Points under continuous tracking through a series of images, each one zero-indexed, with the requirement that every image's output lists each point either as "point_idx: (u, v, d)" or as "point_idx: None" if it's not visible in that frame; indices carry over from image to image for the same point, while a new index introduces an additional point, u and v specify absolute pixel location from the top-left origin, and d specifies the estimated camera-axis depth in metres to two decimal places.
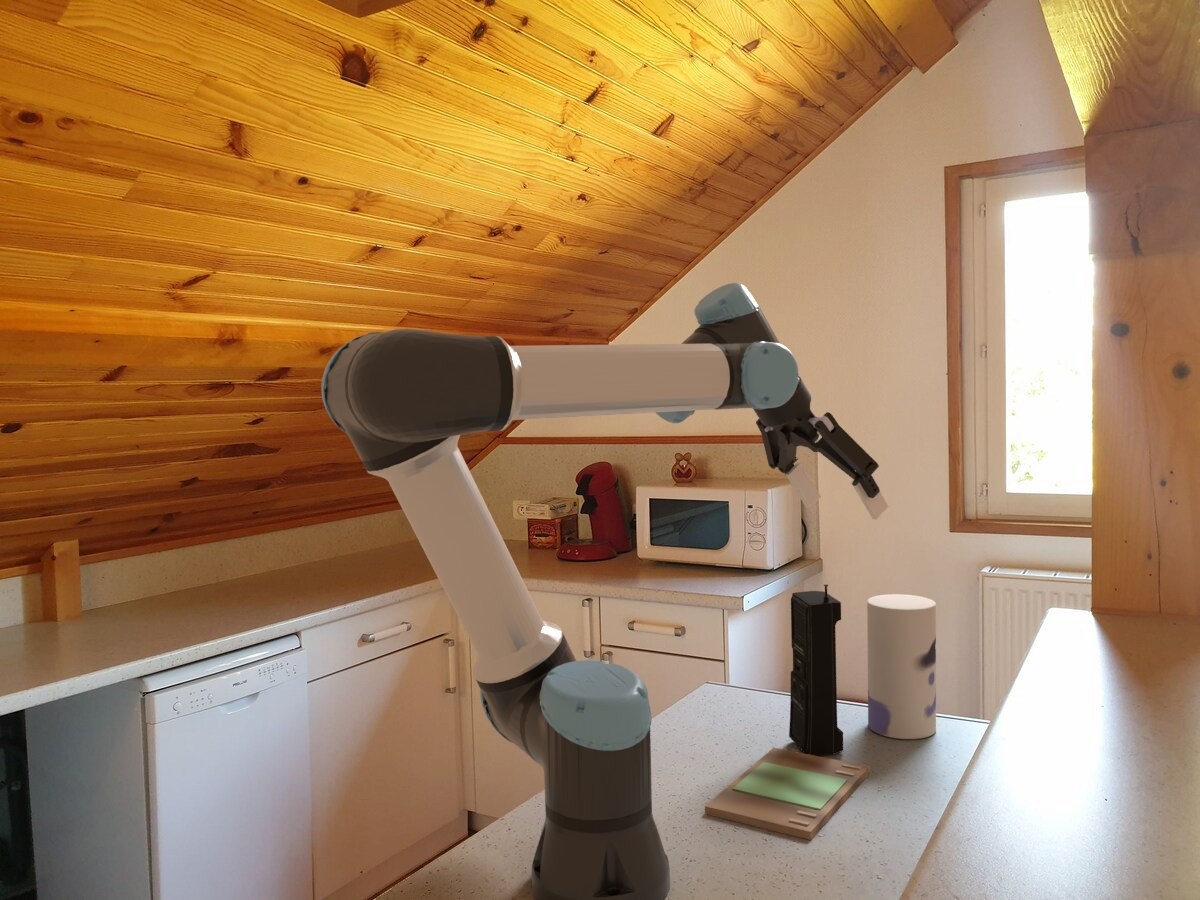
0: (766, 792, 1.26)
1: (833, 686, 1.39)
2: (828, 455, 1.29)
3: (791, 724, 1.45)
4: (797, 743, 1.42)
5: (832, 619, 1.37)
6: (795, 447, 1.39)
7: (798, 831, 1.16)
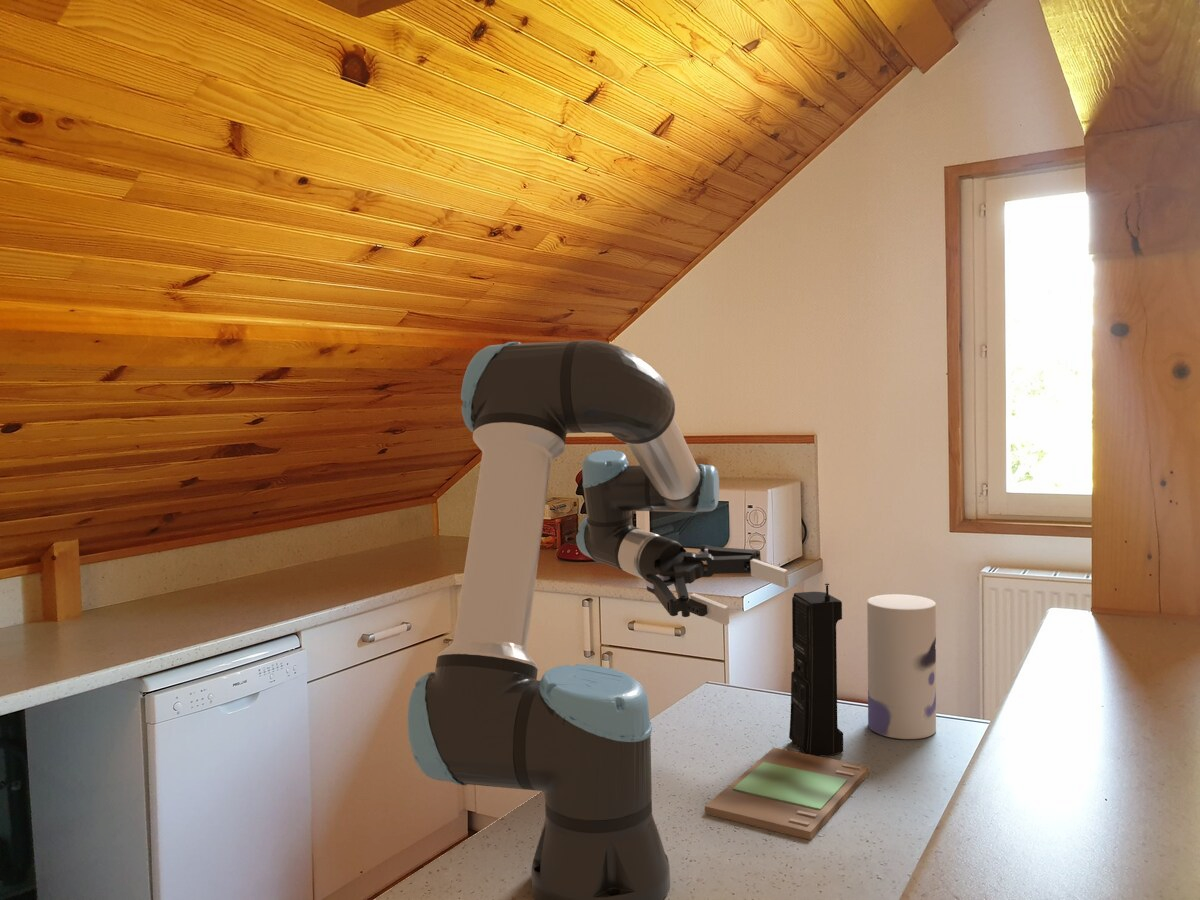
0: (766, 792, 1.26)
1: (833, 686, 1.39)
2: (722, 557, 1.51)
3: (791, 725, 1.45)
4: (797, 744, 1.42)
5: (833, 618, 1.38)
6: None
7: (798, 831, 1.16)
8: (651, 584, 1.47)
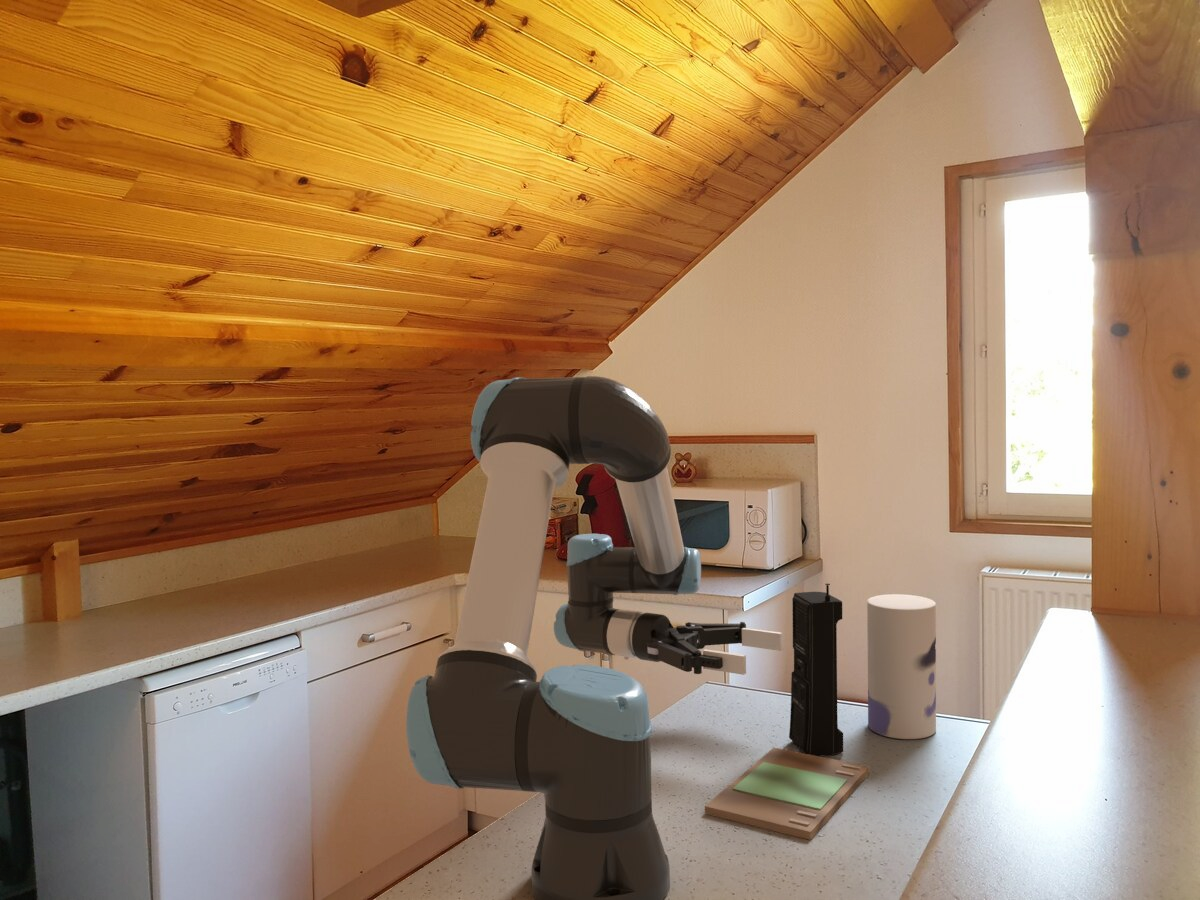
0: (766, 792, 1.26)
1: (834, 686, 1.39)
2: (712, 628, 1.56)
3: (791, 725, 1.45)
4: (797, 744, 1.42)
5: (833, 618, 1.38)
6: None
7: (798, 831, 1.16)
8: (654, 649, 1.48)
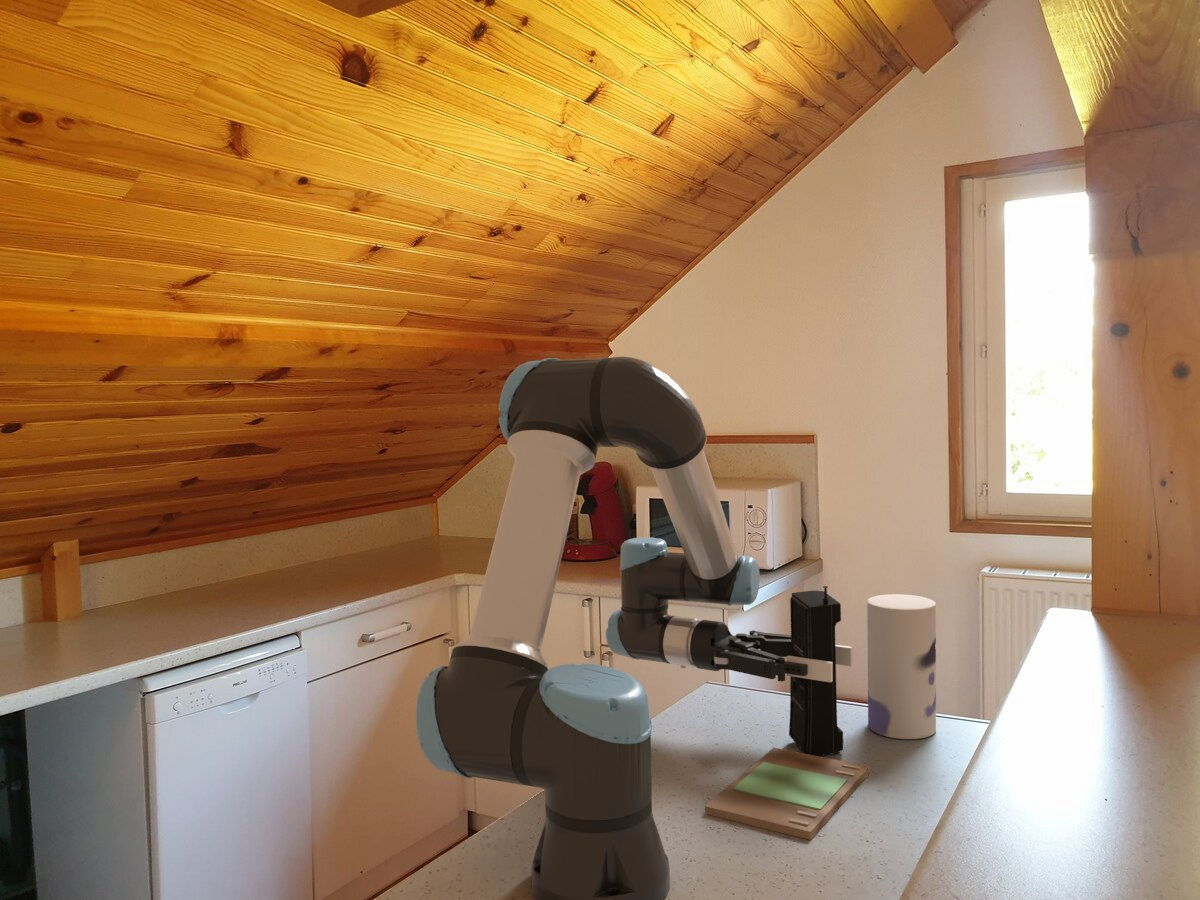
0: (766, 792, 1.26)
1: (833, 687, 1.38)
2: (775, 639, 1.48)
3: (791, 723, 1.44)
4: (797, 742, 1.42)
5: (832, 621, 1.37)
6: None
7: (798, 831, 1.16)
8: (724, 659, 1.41)
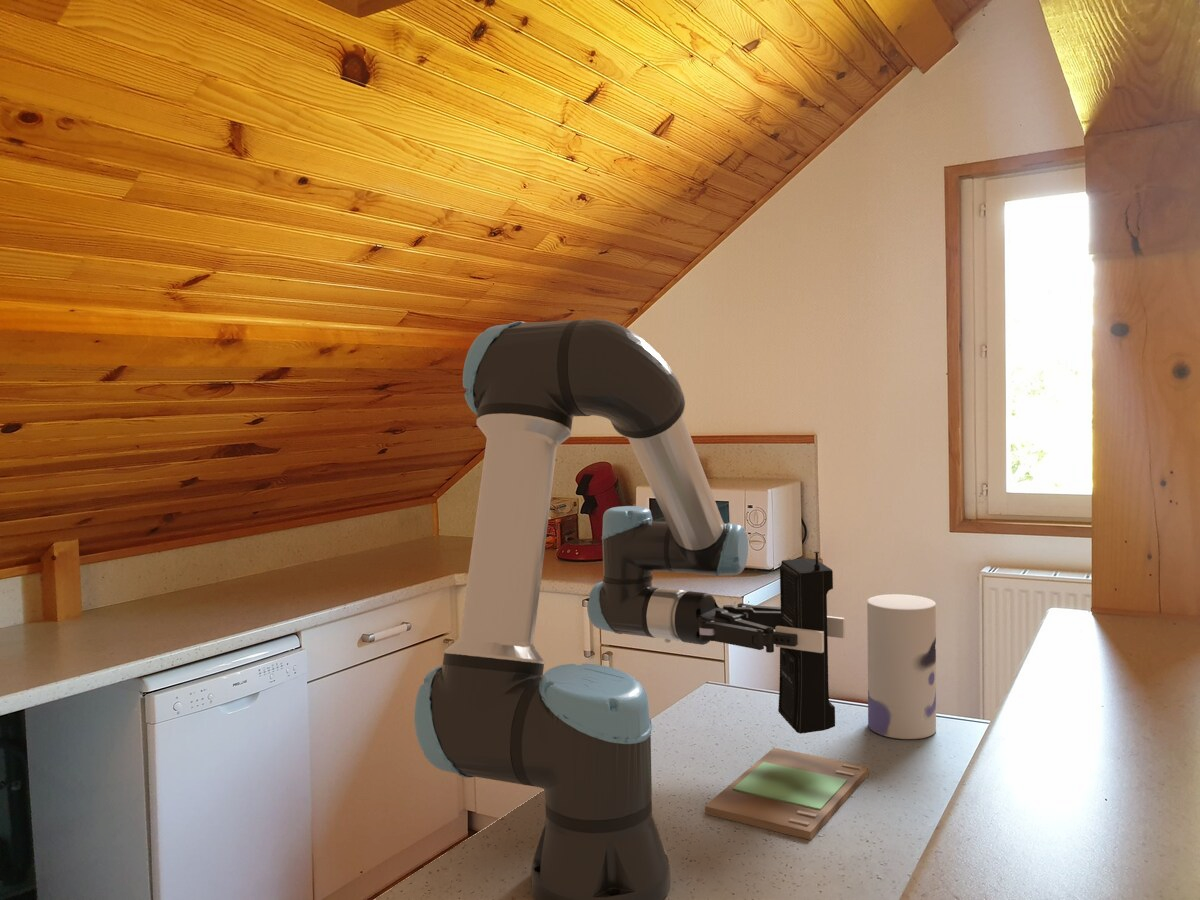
0: (766, 792, 1.26)
1: (824, 659, 1.31)
2: (764, 611, 1.40)
3: (780, 699, 1.37)
4: (786, 719, 1.34)
5: (823, 588, 1.29)
6: None
7: (798, 831, 1.16)
8: (710, 630, 1.34)
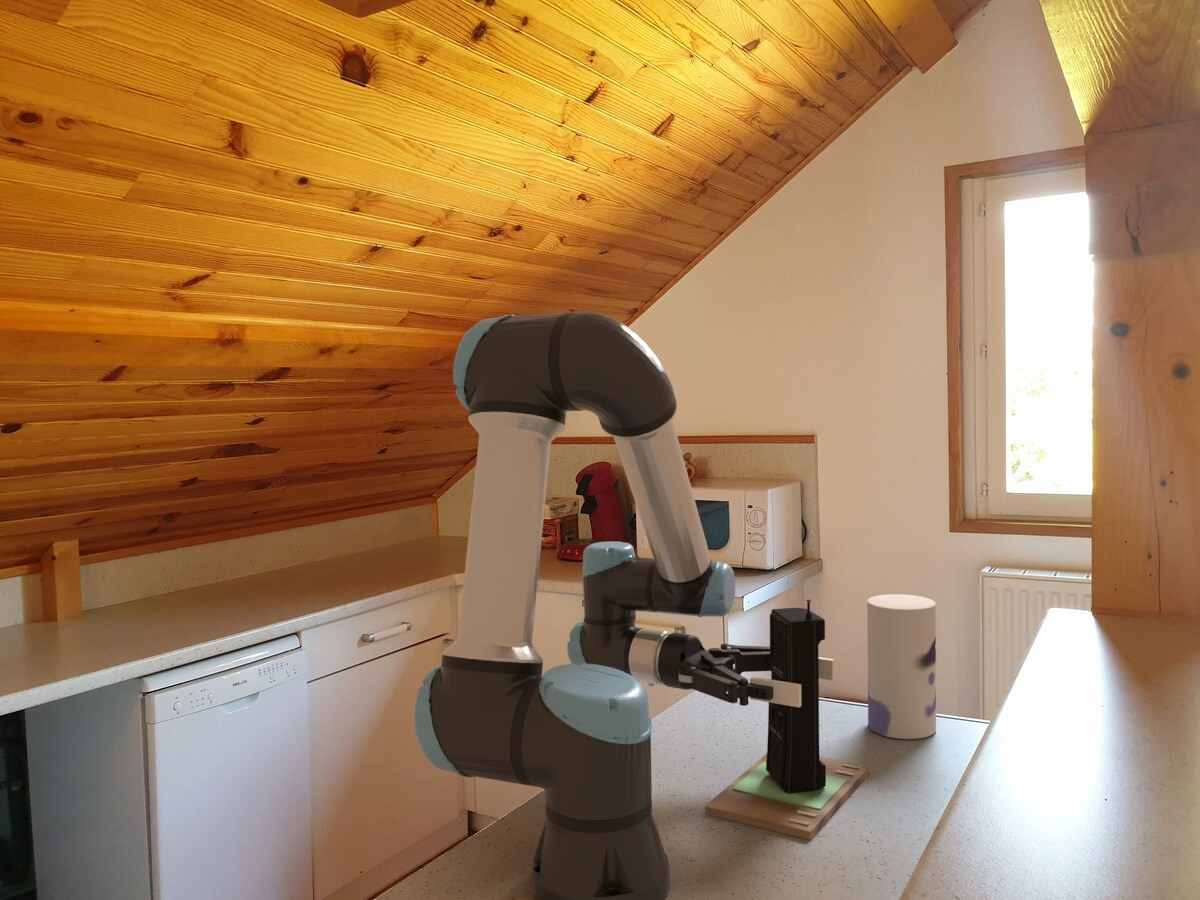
0: (766, 792, 1.26)
1: (815, 713, 1.25)
2: (751, 652, 1.35)
3: (768, 756, 1.30)
4: (775, 777, 1.28)
5: (815, 638, 1.24)
6: None
7: (798, 831, 1.16)
8: (688, 677, 1.27)
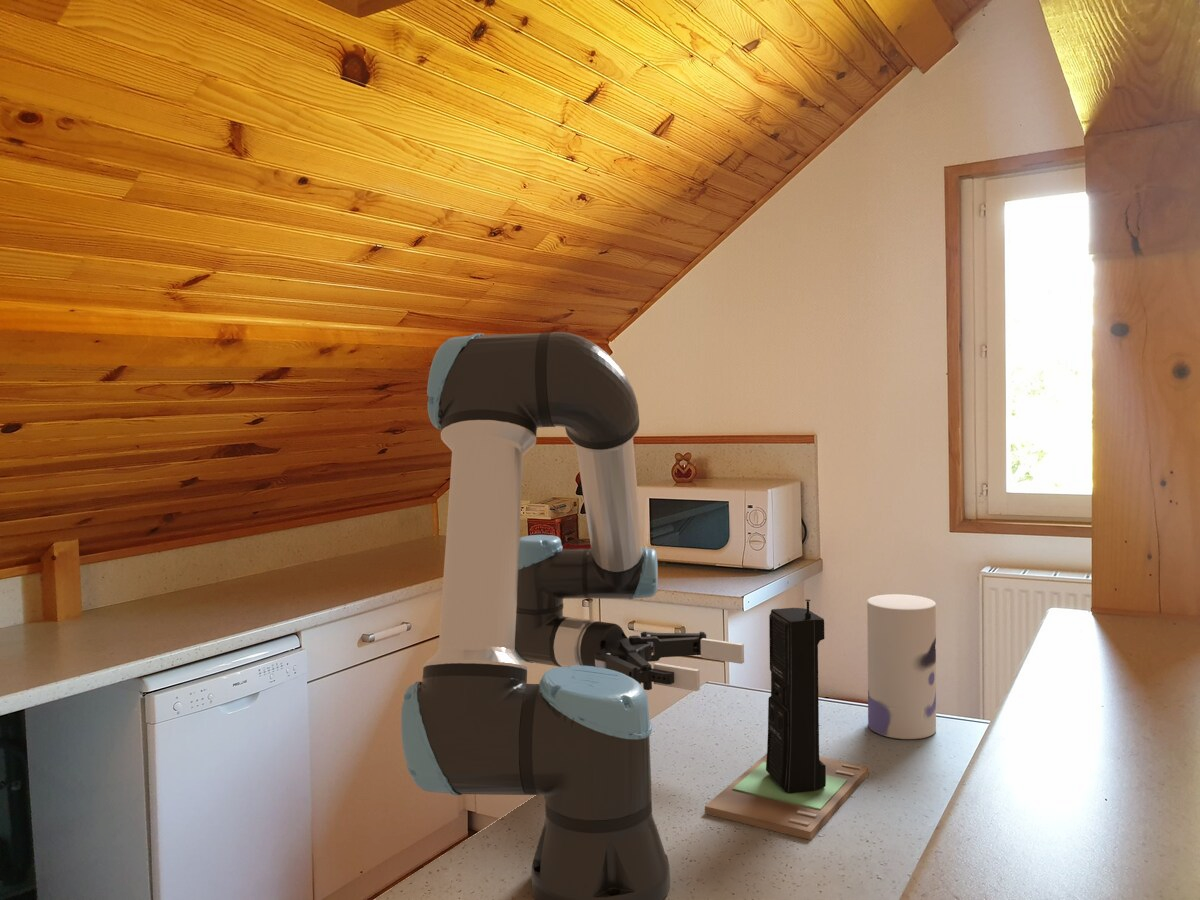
0: (766, 792, 1.26)
1: (815, 713, 1.25)
2: (668, 639, 1.42)
3: (768, 756, 1.30)
4: (775, 777, 1.28)
5: (814, 638, 1.24)
6: None
7: (798, 831, 1.16)
8: (602, 662, 1.35)
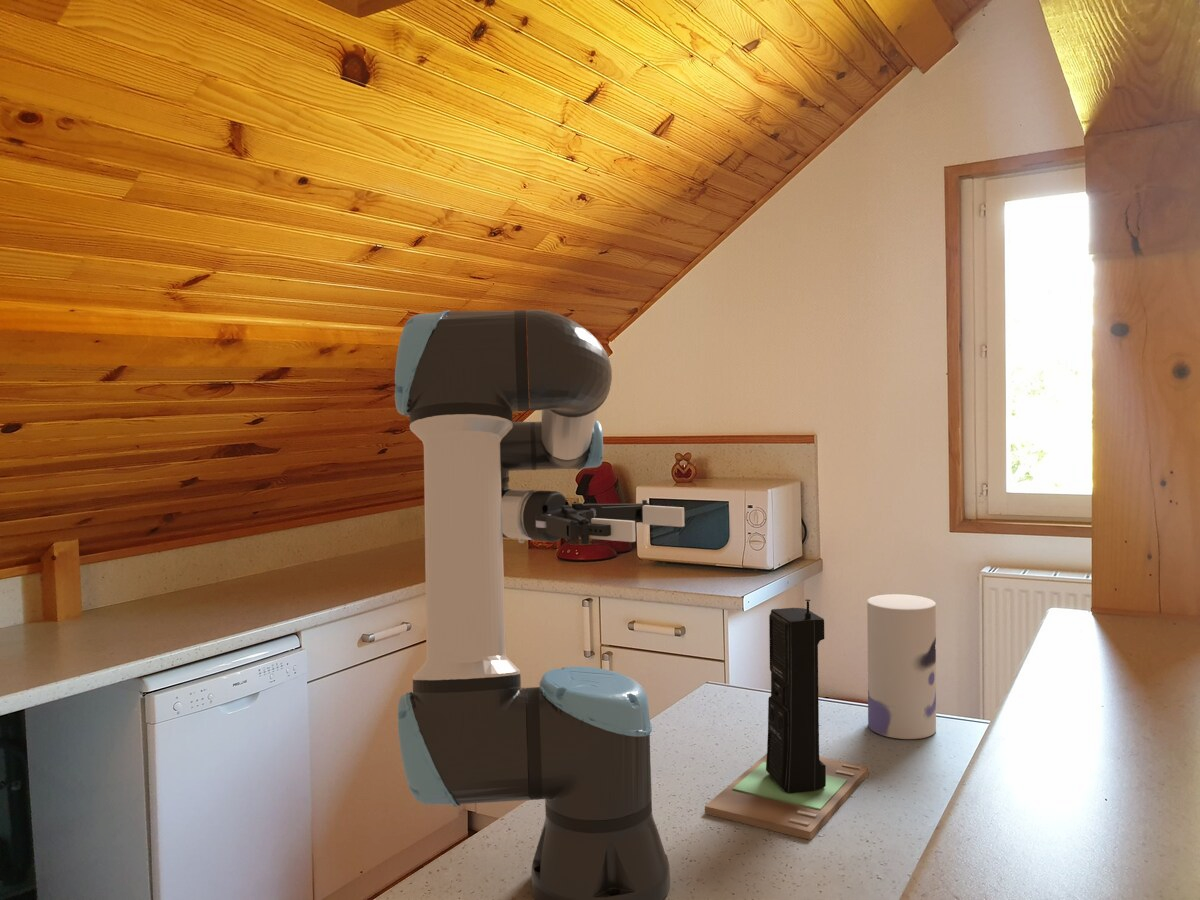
0: (766, 792, 1.26)
1: (815, 713, 1.25)
2: (611, 506, 1.43)
3: (768, 756, 1.30)
4: (775, 777, 1.28)
5: (814, 638, 1.24)
6: None
7: (798, 831, 1.16)
8: (542, 522, 1.36)
